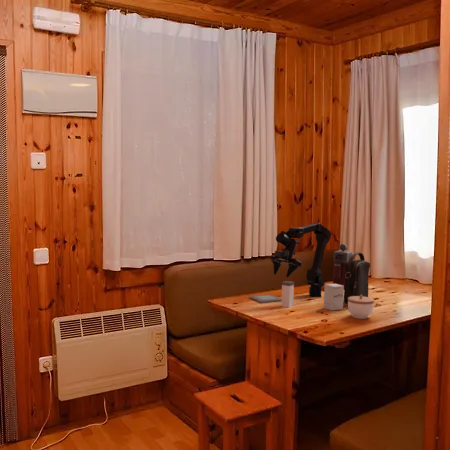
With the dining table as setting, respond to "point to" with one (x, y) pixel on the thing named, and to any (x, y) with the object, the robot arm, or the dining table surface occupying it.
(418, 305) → the dining table surface
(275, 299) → the pad
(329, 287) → the supplement box
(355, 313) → the lidded bowl
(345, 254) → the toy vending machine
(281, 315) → the dining table surface
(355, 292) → the shoulder bag
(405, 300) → the dining table surface
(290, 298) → the block
